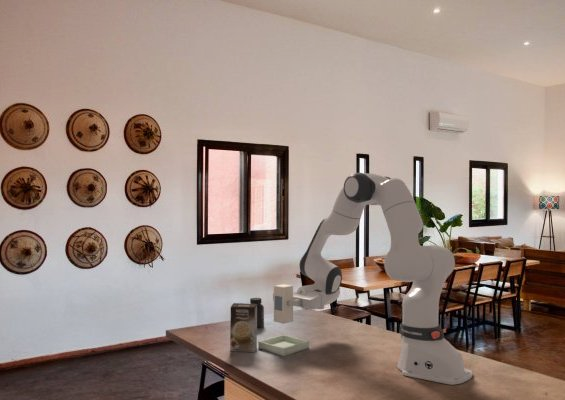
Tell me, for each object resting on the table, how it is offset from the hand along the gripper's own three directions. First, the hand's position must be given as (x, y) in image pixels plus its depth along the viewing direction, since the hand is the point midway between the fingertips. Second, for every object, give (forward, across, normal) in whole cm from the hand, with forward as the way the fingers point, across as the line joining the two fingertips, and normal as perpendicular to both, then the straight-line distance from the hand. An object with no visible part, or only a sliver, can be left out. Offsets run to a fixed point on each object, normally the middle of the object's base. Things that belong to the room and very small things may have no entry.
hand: (281, 302), depth 177 cm
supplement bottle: (-15, -30, +17) cm, 38 cm away
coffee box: (+10, -9, +17) cm, 22 cm away
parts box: (-1, 0, +7) cm, 7 cm away
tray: (-1, 0, +17) cm, 17 cm away
